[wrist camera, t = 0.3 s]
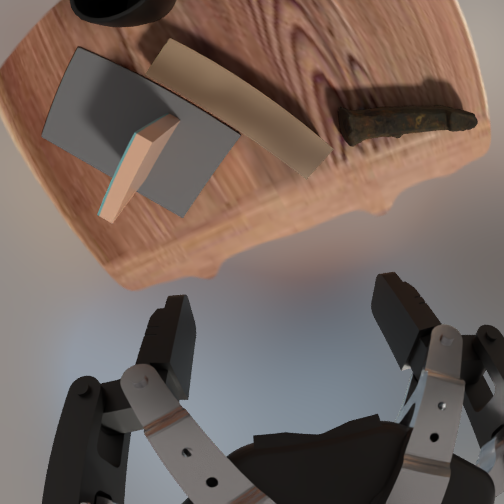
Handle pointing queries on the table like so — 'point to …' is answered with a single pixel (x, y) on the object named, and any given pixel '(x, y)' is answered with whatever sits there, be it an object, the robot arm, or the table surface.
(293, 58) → the table surface
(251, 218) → the table surface
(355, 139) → the hand tool
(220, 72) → the tan wooden bar
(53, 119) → the rubber mat
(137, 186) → the tile
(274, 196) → the table surface
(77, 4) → the mug
